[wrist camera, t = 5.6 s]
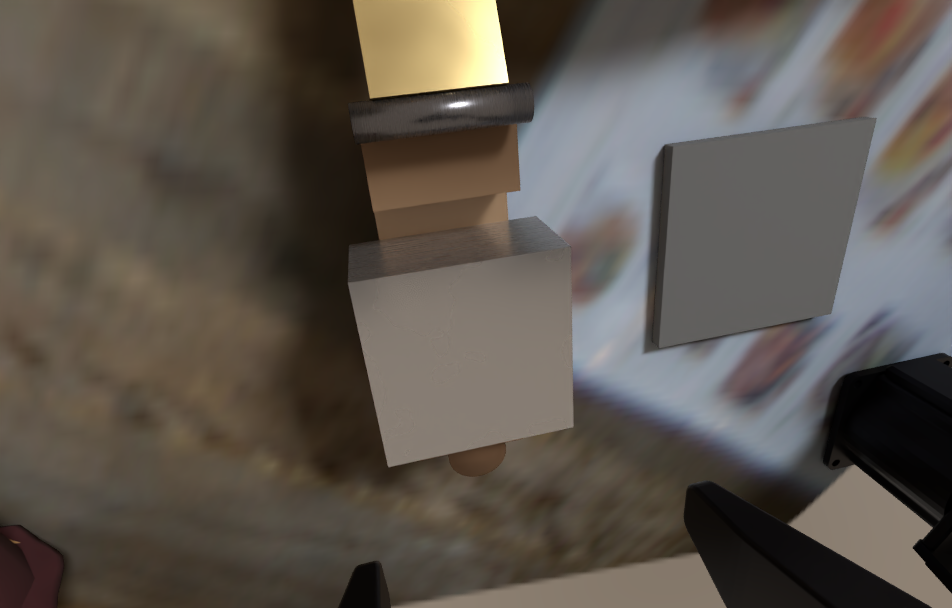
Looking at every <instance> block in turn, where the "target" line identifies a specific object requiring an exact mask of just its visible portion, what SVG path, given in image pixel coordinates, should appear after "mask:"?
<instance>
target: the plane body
mask: <svg viewBox="0 0 952 608" xmlns="http://www.w3.org/2000/svg"><path fill="white" fill-rule="evenodd" d="M361 148H362V153H363V159H364V164H365V170H366V175H367V180H368V186H369V191H370V197H371V202H372V208H373V212H374V213H375V219H376V224H377V230H378V235H379V240H384V239H391V238H397V237H404V236H410V235H417V234H423V233H430V232H436V231H443V230H449V229H455V228H462V227H468V226H475V225H481V224H488V223H494V222H501V221H507V220H508V209H507V194H506V193H507V192H513V191H520V175H519V157H518V139H517V124H513V125H505V126H497V127H489V128H481V129H473V130H465V131H458V132H450V133H442V134H434V135H426V136H418V137H410V138H402V139H394V140H387V141H379V142H371V143H363V144H361ZM521 439H523V438H521ZM516 440H519V439H516ZM512 441H515V440H512ZM507 442H510V441H507ZM505 443H506V442H502V443H498V444H493V445H489V446H484V447H479V448H475V449H470V450H465V451H461V452H456V453H452V454H447V455H448V457H449V461H450V464H451V466H452V468H453V469H454V470H455V471H456V472H457V473H459V474H461V475H464V476H470V477H475V476H481V475H485V474H487V473H489V472H491V471H493V470H494V469H496V468H497V467H498V466H499V465H500V464H501V462H502V461H503V459H504V457H505V454H506V445H505ZM442 456H446V455H442ZM438 457H441V456H438ZM433 458H436V457H433ZM429 459H432V458H429ZM424 460H427V459H424ZM420 461H423V460H420Z"/></svg>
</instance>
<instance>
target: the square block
mask: <svg viewBox="0 0 952 608" xmlns="http://www.w3.org/2000/svg"><path fill="white" fill-rule="evenodd" d="M348 286H349V291H350V295H351V300H352V304H353V309H354V314H355V318H356V323H357V327H358V332H359V336H360V341H361V345H362V350H363V355H364V359H365V364H366V368H367V373H368V377H369V382H370V386H371V391H372V395H373V400H374V405H375V409H376V414H377V418H378V423H379V427H380V432H381V436H382V441H383V445H384V450H385V455H386V459H387V464H388V467H392V466H396V465H401V464H406V463H410V462H415V461H419V460H424V459H429V458H433V457H438V456H442V455H447V454H452V453H456V452H461V451H465V450H470V449H475V448H479V447H484V446H489V445H493V444H498V443H502V442H507V441H512V440H516V439H521V438H525V437H530V436H535V435H539V434H544V433H548V432H553V431H558V430H562V429H567V428H571V427H573V360H572V285H571V246H570V245H569V244H568V243H566V242H565V241H564V240H563V239H562V238H561V237H559V236H558V235H557V234H556V233H555V232H554V231H553V230H551V229H550V228H549V227H548V226H547V225H546V224H545V223H543V222H542V221H541V220H540V219H539V218H538V217H536V216H533V217H527V218H520V219H514V220H507V221H501V222H494V223H488V224H481V225H475V226H468V227H462V228H455V229H449V230H443V231H436V232H430V233H423V234H417V235H410V236H404V237H397V238H391V239H384V240H378V241H371V242H365V243H358V244H352V245H349V264H348Z"/></svg>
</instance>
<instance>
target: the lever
mask: <svg viewBox="0 0 952 608" xmlns="http://www.w3.org/2000/svg"><path fill="white" fill-rule="evenodd" d="M353 6H354V12H355V18H356V23H357V29H358V35H359V40H360V46H361V52H362V57H363V63H364V69H365V75H366V80H367V86H368V92H369V97H370V101H361V102H353V103H348V107H349V113H350V119H351V124H352V130H353V135H354V139H355V144H363V143H371V142H379V141H387V140H394V139H402V138H410V137H418V136H426V135H434V134H442V133H450V132H458V131H465V130H473V129H481V128H489V127H497V126H505V125H513V124H521V123H529V122H531V121H532V119H533V115H534V97H533V92H532V88H531V86H530V84H529V83H528V82H526V83H518V84H509V85H508V83H509V81H508V75H507V69H506V62H505V56H504V50H503V44H502V38H501V31H500V25H499V19H498V13H497V6H496V0H353Z"/></svg>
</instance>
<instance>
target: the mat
mask: <svg viewBox="0 0 952 608" xmlns="http://www.w3.org/2000/svg"><path fill="white" fill-rule="evenodd" d="M876 119H877V118H869V117H860V118H853V119H845V120H838V121H831V122H824V123H816V124H809V125H802V126H795V127H788V128H780V129H773V130H766V131H759V132H751V133H744V134H737V135H730V136H723V137H715V138H708V139H701V140H694V141H687V142H679V143H672V144H665V152H664V168H663V183H662V199H661V214H660V229H659V245H658V260H657V276H656V291H655V307H654V322H653V337H652V342H653V343H654V344H655V345H656V346H657V347H658V348H662V347H667V346H672V345H677V344H682V343H688V342H693V341H698V340H703V339H708V338H713V337H718V336H723V335H728V334H733V333H738V332H743V331H748V330H753V329H758V328H763V327H768V326H773V325H778V324H783V323H788V322H793V321H798V320H803V319H808V318H813V317H818V316H823V315H828V314H831V312H832V307H833V303H834V299H835V295H836V290H837V286H838V282H839V277H840V273H841V269H842V265H843V260H844V256H845V252H846V247H847V243H848V239H849V235H850V230H851V226H852V222H853V217H854V213H855V209H856V204H857V200H858V196H859V192H860V187H861V183H862V179H863V174H864V170H865V166H866V162H867V157H868V153H869V149H870V144H871V140H872V136H873V132H874V127H875V123H876Z"/></svg>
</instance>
